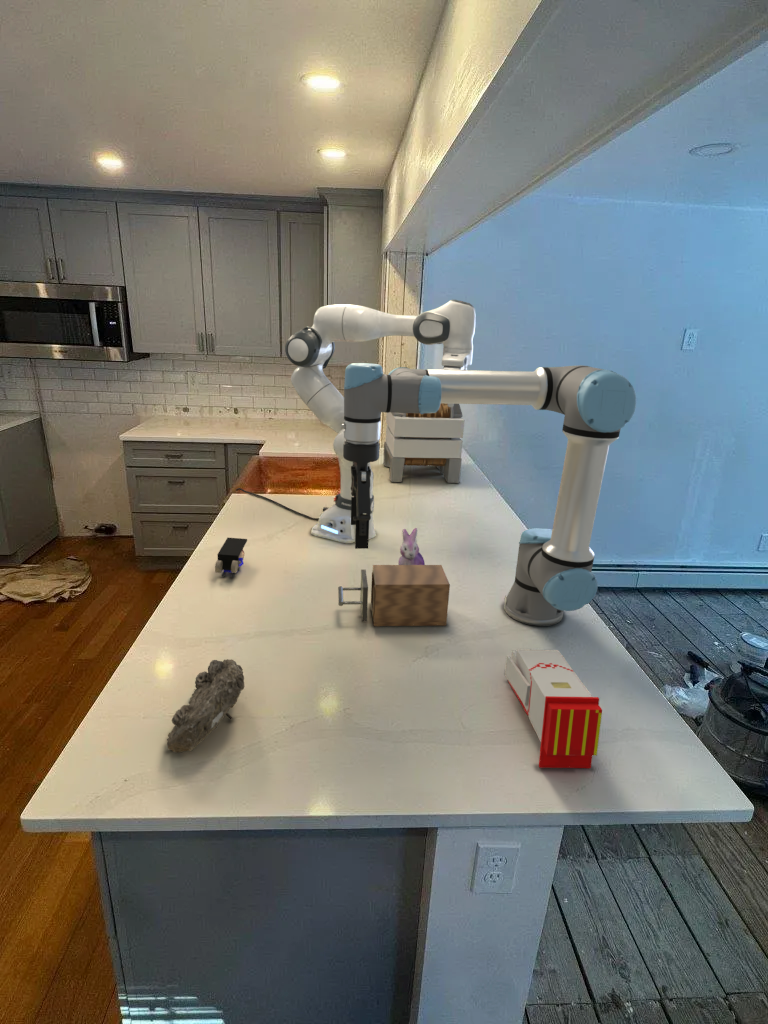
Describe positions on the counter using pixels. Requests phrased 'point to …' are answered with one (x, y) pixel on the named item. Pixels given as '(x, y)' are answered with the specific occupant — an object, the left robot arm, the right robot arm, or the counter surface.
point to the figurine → (410, 550)
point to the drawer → (363, 595)
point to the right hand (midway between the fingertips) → (359, 535)
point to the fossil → (206, 705)
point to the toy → (556, 707)
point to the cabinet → (410, 595)
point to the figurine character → (230, 556)
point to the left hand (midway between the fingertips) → (453, 404)
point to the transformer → (425, 441)
